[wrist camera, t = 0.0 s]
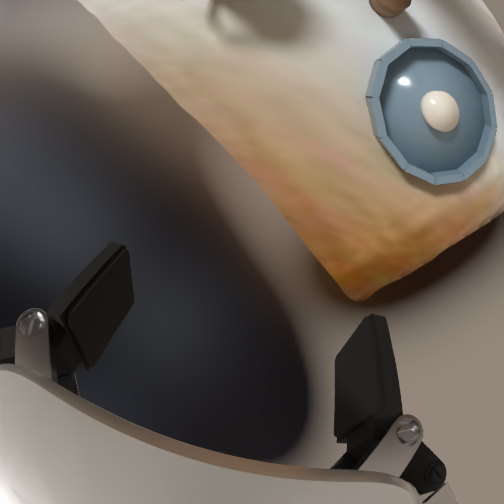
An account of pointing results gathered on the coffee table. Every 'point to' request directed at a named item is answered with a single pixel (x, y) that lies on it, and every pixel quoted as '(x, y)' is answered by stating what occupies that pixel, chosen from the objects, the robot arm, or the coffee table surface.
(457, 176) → the ring tray
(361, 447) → the robot arm
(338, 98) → the coffee table surface
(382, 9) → the walnut bead
